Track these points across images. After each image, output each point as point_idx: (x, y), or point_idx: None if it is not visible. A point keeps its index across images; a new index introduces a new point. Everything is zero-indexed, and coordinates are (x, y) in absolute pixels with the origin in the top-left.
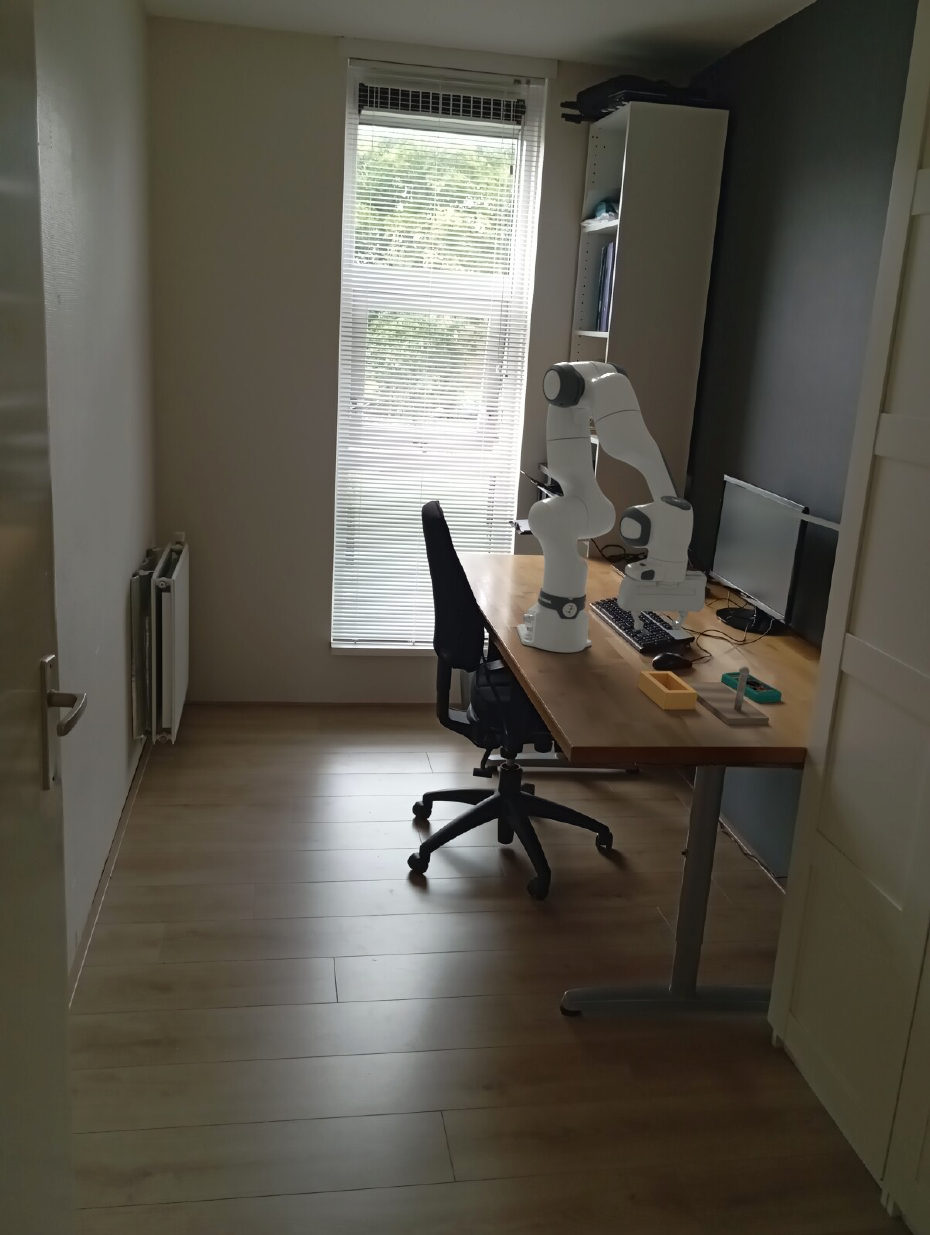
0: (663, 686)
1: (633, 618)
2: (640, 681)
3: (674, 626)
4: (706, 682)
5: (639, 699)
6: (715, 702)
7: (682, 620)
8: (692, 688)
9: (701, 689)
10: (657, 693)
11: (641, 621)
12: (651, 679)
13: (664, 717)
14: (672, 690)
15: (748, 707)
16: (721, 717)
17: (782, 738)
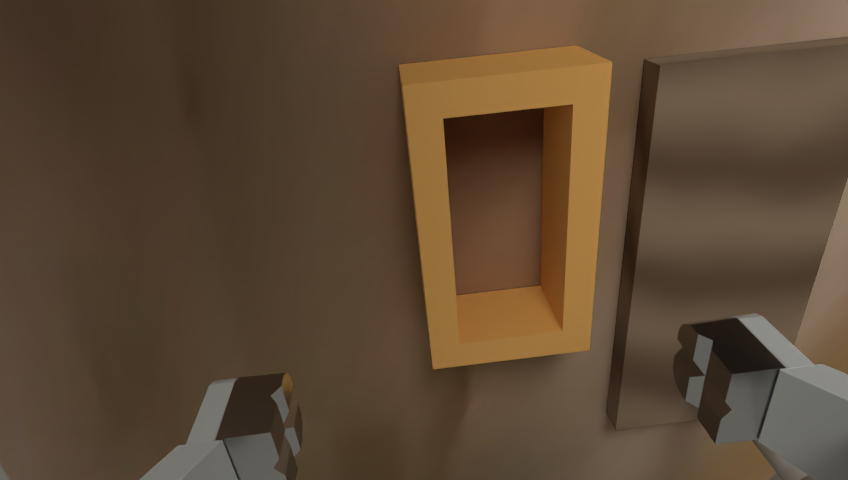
0: (453, 302)
1: (154, 468)
2: (402, 95)
3: (695, 382)
4: (804, 51)
5: (357, 226)
6: (663, 307)
7: (815, 466)
8: (592, 309)
9: (701, 163)
10: (423, 286)
11: (273, 466)
12: (425, 217)
13: (403, 381)
14: (477, 343)
15: None
16: (613, 387)
17: (721, 470)
